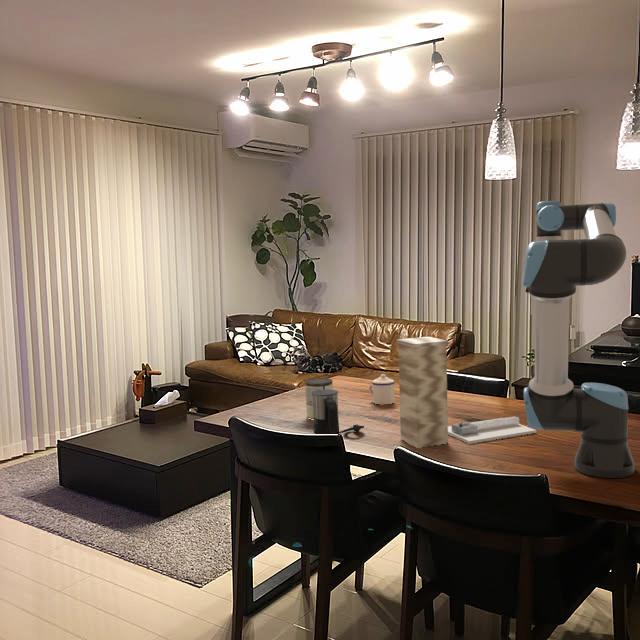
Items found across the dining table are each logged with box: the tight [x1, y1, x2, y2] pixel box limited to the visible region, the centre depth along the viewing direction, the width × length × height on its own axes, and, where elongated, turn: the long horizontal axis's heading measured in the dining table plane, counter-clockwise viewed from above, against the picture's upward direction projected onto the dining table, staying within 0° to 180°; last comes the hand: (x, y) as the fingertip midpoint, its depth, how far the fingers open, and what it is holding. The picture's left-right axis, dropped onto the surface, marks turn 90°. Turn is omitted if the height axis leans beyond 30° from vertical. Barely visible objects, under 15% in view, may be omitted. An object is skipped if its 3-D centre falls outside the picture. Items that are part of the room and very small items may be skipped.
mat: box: [448, 417, 537, 445], centre depth 224 cm, size 26×18×1 cm
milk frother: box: [311, 389, 365, 435], centre depth 228 cm, size 14×16×15 cm
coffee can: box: [304, 377, 334, 419], centre depth 250 cm, size 10×10×14 cm
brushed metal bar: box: [451, 415, 520, 436], centre depth 224 cm, size 24×6×4 cm, turn 111°
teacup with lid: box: [368, 373, 396, 405], centre depth 271 cm, size 12×9×12 cm
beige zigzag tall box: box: [395, 336, 450, 449], centre depth 214 cm, size 12×12×33 cm
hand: (548, 316), depth 217 cm, fingers open, 13 cm apart
